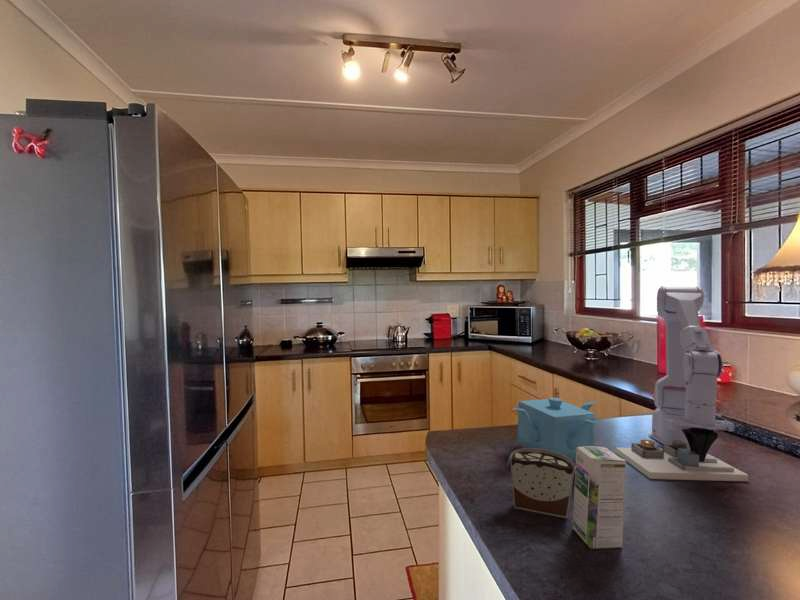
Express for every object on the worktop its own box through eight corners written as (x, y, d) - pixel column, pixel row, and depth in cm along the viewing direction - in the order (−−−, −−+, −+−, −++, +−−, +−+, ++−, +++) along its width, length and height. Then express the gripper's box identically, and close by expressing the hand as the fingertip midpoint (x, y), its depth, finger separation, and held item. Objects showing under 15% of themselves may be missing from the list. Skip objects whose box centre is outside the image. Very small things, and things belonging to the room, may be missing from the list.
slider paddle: (677, 460, 93) (677, 448, 93) (687, 461, 93) (687, 448, 93) (688, 467, 89) (688, 454, 89) (698, 467, 89) (699, 455, 89)
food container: (573, 503, 76) (574, 452, 76) (576, 520, 70) (578, 465, 70) (507, 491, 80) (509, 443, 80) (506, 506, 74) (507, 454, 74)
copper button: (637, 445, 99) (638, 439, 99) (649, 445, 99) (649, 439, 99) (645, 450, 96) (645, 443, 96) (657, 450, 96) (657, 444, 96)
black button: (669, 446, 99) (669, 440, 99) (680, 446, 99) (681, 440, 99) (677, 451, 96) (677, 444, 96) (689, 451, 96) (689, 445, 96)
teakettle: (522, 438, 110) (523, 386, 110) (596, 451, 102) (597, 395, 102) (509, 463, 94) (511, 402, 93) (596, 482, 85) (598, 415, 85)
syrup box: (571, 528, 68) (573, 445, 68) (603, 527, 68) (606, 445, 68) (589, 549, 62) (592, 460, 62) (624, 548, 63) (627, 459, 62)
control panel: (615, 453, 101) (615, 441, 101) (699, 455, 101) (700, 443, 101) (649, 478, 87) (650, 465, 87) (747, 481, 87) (748, 467, 87)
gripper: (681, 406, 87) (679, 466, 87) (746, 408, 87) (744, 468, 87) (660, 398, 94) (658, 453, 94) (720, 399, 94) (718, 455, 94)
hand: (698, 460), depth 91 cm, fingers closed
